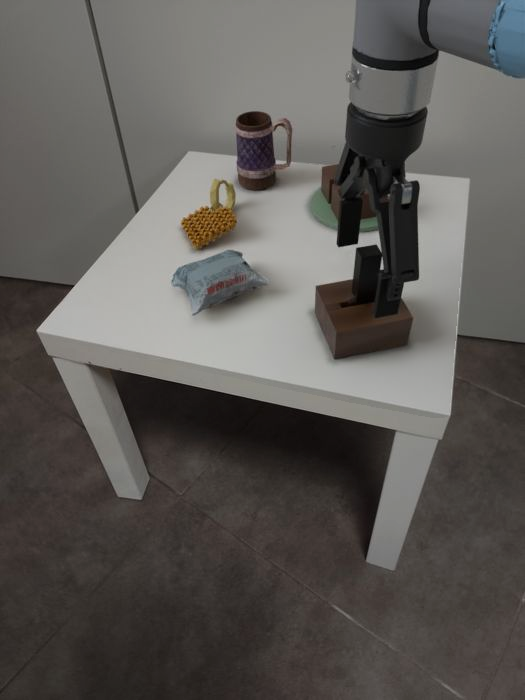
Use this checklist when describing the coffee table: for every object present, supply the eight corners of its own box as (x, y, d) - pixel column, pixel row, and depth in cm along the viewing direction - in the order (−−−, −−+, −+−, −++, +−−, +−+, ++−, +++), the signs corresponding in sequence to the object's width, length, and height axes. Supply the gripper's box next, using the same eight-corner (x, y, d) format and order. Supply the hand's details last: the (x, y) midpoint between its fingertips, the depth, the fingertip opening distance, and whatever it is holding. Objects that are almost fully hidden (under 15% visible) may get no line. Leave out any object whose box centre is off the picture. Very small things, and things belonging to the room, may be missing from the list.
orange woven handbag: (215, 232, 81) (250, 164, 87) (159, 231, 86) (196, 166, 92) (231, 263, 86) (263, 196, 93) (178, 260, 91) (212, 197, 97)
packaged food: (269, 295, 79) (267, 268, 75) (194, 325, 75) (189, 298, 71) (242, 263, 84) (239, 237, 80) (171, 290, 80) (165, 263, 77)
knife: (376, 330, 73) (388, 252, 63) (347, 336, 72) (355, 258, 63) (370, 320, 74) (382, 242, 65) (342, 326, 74) (350, 248, 64)
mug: (232, 188, 98) (226, 123, 90) (245, 168, 103) (241, 105, 94) (286, 196, 96) (285, 130, 87) (297, 176, 100) (297, 111, 92)
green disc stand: (413, 223, 89) (419, 194, 85) (325, 238, 87) (326, 209, 83) (380, 177, 99) (383, 149, 95) (300, 190, 97) (300, 162, 93)
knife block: (407, 345, 71) (413, 317, 67) (334, 359, 70) (336, 332, 66) (382, 300, 77) (386, 272, 73) (314, 312, 76) (315, 285, 72)
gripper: (312, 59, 59) (307, 224, 75) (401, 176, 42) (371, 356, 58) (378, 51, 60) (359, 215, 75) (490, 162, 43) (437, 343, 59)
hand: (364, 276), depth 67 cm, fingers open, 13 cm apart
